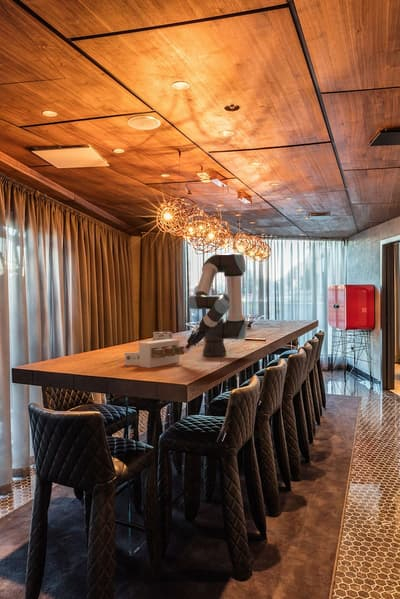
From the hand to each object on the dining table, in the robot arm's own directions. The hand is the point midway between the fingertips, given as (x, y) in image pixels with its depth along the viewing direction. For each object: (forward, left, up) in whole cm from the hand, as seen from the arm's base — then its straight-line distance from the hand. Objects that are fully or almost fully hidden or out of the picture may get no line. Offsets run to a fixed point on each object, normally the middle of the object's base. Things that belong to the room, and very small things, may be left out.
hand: (185, 351), depth 257 cm
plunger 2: (+3, -7, -2) cm, 8 cm away
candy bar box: (+6, -25, -8) cm, 27 cm away
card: (+27, -10, -7) cm, 29 cm away
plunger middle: (+10, -3, -2) cm, 11 cm away
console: (+13, -7, -7) cm, 16 cm away
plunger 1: (+17, +1, -2) cm, 17 cm away
